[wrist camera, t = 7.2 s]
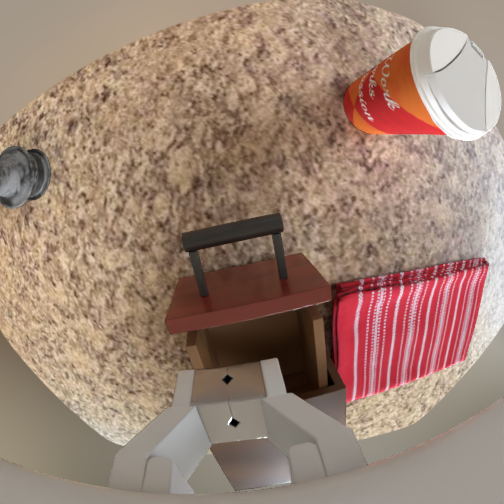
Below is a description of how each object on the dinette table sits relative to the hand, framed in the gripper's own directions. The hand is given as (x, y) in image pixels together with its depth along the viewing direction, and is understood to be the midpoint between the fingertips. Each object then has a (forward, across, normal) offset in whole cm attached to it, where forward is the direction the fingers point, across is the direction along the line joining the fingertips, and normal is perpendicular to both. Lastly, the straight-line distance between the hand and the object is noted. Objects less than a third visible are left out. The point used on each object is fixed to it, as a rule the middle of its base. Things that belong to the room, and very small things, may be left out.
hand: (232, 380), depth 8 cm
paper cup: (+20, -15, -10) cm, 27 cm away
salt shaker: (+19, +19, -10) cm, 29 cm away
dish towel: (+19, -20, +15) cm, 32 cm away
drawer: (+18, -1, +7) cm, 19 cm away
